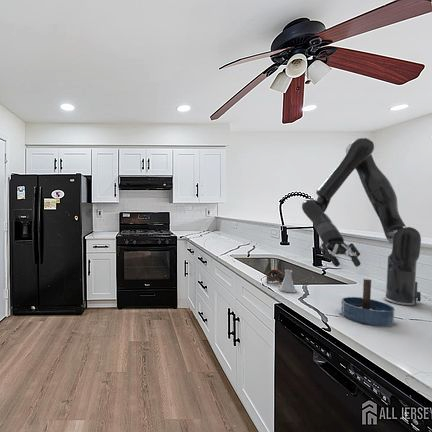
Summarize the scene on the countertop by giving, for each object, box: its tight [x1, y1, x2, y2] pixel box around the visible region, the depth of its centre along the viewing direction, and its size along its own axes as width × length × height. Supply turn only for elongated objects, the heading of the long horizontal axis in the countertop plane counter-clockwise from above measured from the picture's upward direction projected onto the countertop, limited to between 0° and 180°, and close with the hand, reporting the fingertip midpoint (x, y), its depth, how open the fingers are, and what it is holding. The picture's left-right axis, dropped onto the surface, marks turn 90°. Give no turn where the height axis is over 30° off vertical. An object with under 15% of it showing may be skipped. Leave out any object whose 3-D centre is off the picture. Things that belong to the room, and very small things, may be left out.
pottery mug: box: [265, 269, 285, 284], centre depth 150 cm, size 12×10×8 cm
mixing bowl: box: [340, 296, 395, 327], centre depth 104 cm, size 15×15×6 cm
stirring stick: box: [360, 278, 373, 310], centre depth 104 cm, size 4×4×14 cm
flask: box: [279, 269, 297, 293], centre depth 136 cm, size 7×7×10 cm
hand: (348, 265), depth 113 cm, fingers open, 8 cm apart
